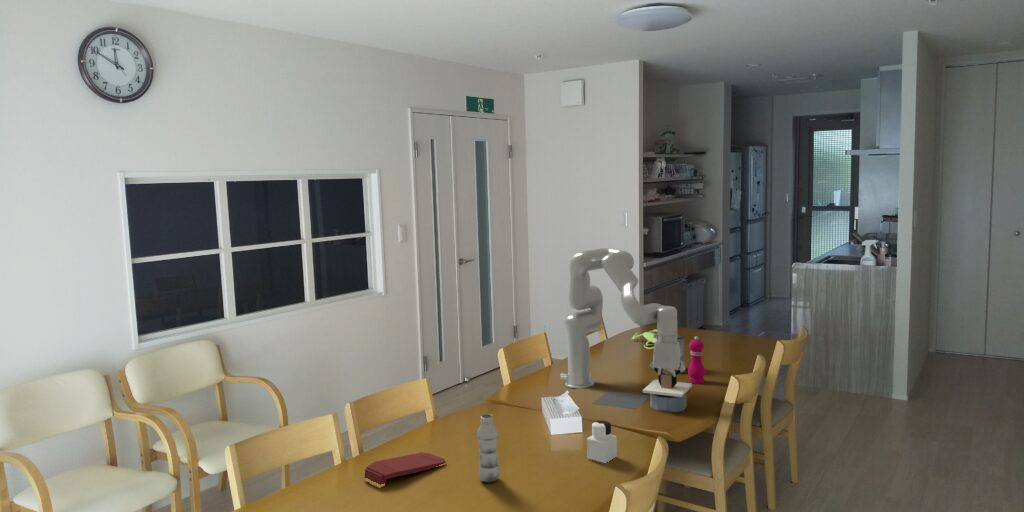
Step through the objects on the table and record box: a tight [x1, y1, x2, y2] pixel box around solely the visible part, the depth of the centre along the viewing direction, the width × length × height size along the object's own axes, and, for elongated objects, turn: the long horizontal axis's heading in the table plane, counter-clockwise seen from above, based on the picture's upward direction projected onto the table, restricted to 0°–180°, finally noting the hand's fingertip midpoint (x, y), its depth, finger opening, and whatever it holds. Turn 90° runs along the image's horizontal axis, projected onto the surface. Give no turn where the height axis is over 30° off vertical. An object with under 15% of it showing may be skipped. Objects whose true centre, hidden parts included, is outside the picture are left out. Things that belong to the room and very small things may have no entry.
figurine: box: [631, 329, 657, 350], centre depth 380 cm, size 18×27×6 cm
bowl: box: [649, 392, 687, 413], centre depth 278 cm, size 13×13×6 cm
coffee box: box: [663, 334, 685, 373], centre depth 327 cm, size 9×6×16 cm
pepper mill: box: [687, 335, 706, 385], centre depth 308 cm, size 7×7×20 cm
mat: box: [591, 390, 650, 410], centre depth 287 cm, size 18×18×1 cm
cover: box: [642, 371, 693, 397], centre depth 277 cm, size 15×15×6 cm
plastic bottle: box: [476, 413, 501, 483], centre depth 216 cm, size 6×7×20 cm
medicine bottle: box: [586, 419, 618, 464], centre depth 230 cm, size 7×7×12 cm
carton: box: [364, 451, 447, 485], centre depth 226 cm, size 12×5×25 cm
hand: (667, 384), depth 277 cm, fingers closed on cover, 3 cm apart
